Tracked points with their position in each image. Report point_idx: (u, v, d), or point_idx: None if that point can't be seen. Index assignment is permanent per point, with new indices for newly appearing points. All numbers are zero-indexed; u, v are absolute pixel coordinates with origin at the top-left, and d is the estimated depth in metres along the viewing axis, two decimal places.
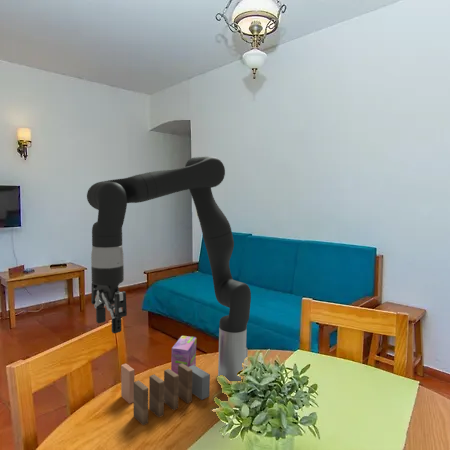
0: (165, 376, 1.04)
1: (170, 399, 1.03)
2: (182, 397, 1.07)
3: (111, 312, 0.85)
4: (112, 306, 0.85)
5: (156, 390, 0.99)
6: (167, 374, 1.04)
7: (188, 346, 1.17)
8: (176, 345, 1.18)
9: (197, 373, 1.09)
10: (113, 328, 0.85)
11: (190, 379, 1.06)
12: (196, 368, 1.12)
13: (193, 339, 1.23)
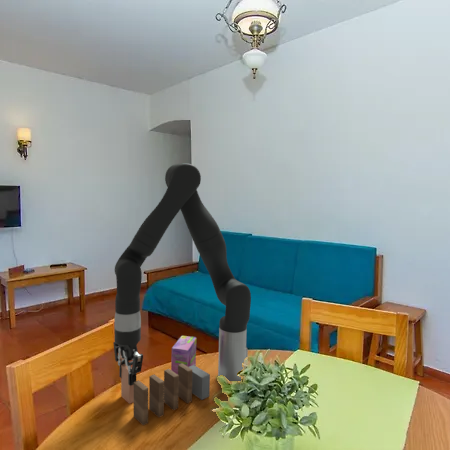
0: (165, 376, 1.04)
1: (170, 399, 1.03)
2: (182, 397, 1.07)
3: (128, 368, 1.03)
4: (130, 363, 1.03)
5: (156, 390, 0.99)
6: (167, 374, 1.04)
7: (188, 346, 1.17)
8: (176, 344, 1.18)
9: (197, 373, 1.09)
10: (129, 381, 1.04)
11: (190, 379, 1.06)
12: (196, 368, 1.12)
13: (193, 339, 1.23)
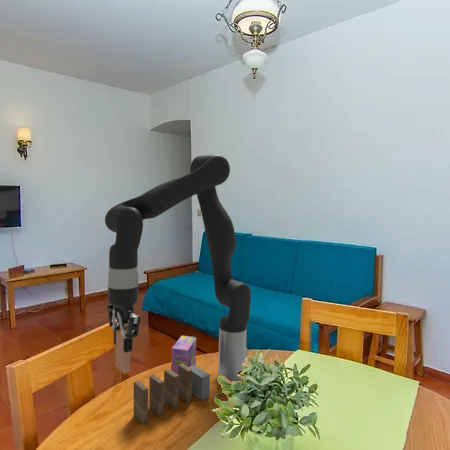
0: (165, 376, 1.04)
1: (170, 399, 1.03)
2: (182, 397, 1.07)
3: (124, 332, 0.90)
4: (125, 327, 0.90)
5: (156, 390, 0.99)
6: (167, 374, 1.04)
7: (188, 346, 1.17)
8: (176, 344, 1.18)
9: (197, 373, 1.09)
10: (125, 347, 0.90)
11: (190, 379, 1.06)
12: (196, 368, 1.12)
13: (193, 339, 1.23)
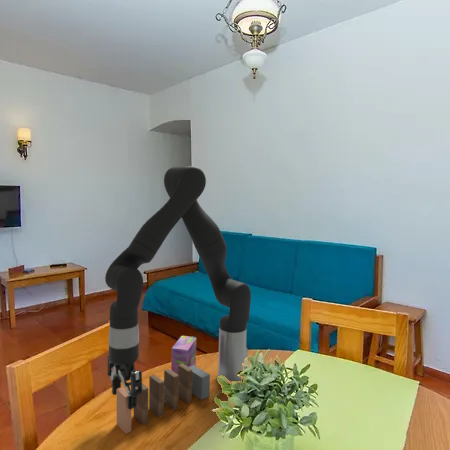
0: (165, 376, 1.05)
1: (170, 399, 1.03)
2: (182, 397, 1.07)
3: (127, 389, 0.89)
4: (128, 383, 0.90)
5: (156, 390, 0.99)
6: (167, 374, 1.04)
7: (188, 346, 1.17)
8: (176, 344, 1.18)
9: (197, 373, 1.09)
10: (129, 404, 0.90)
11: (190, 379, 1.06)
12: (196, 368, 1.12)
13: (193, 339, 1.23)
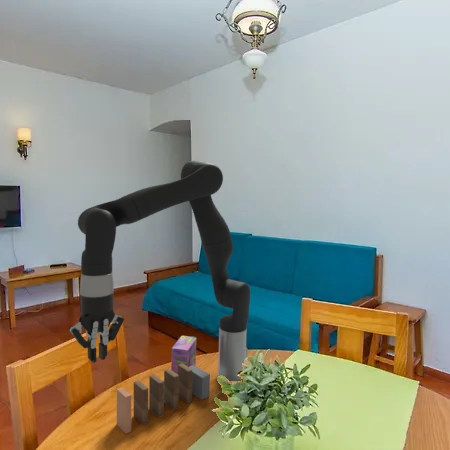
0: (165, 376, 1.05)
1: (170, 399, 1.03)
2: (182, 397, 1.07)
3: None
4: (87, 335, 0.86)
5: (156, 390, 0.99)
6: (167, 374, 1.04)
7: (188, 346, 1.17)
8: (176, 345, 1.18)
9: (197, 373, 1.09)
10: None
11: (190, 379, 1.06)
12: (196, 368, 1.12)
13: (193, 339, 1.23)
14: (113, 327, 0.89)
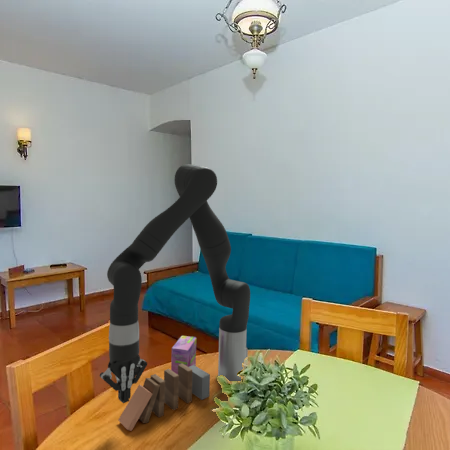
0: (165, 376, 1.05)
1: (170, 399, 1.03)
2: (182, 397, 1.07)
3: None
4: (117, 378, 0.93)
5: None
6: (167, 374, 1.04)
7: (188, 346, 1.17)
8: (176, 345, 1.18)
9: (197, 373, 1.09)
10: None
11: (190, 379, 1.06)
12: (196, 368, 1.12)
13: (193, 339, 1.23)
14: (137, 370, 0.95)
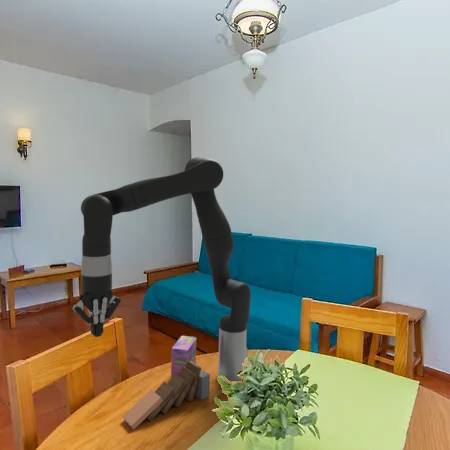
0: (181, 371, 1.09)
1: None
2: None
3: None
4: (89, 312, 0.93)
5: (177, 386, 1.04)
6: (185, 370, 1.08)
7: (188, 346, 1.17)
8: (176, 345, 1.18)
9: None
10: None
11: (197, 376, 1.07)
12: None
13: (193, 339, 1.23)
14: (110, 306, 0.96)
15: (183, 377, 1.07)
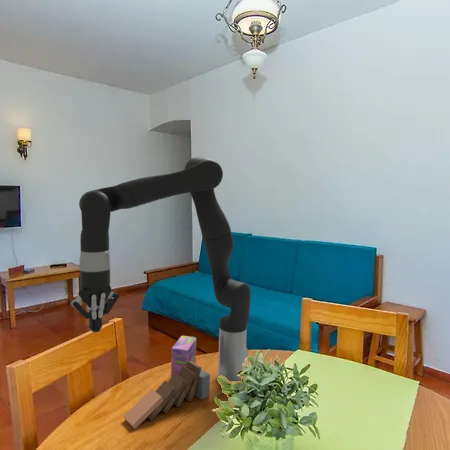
0: (181, 371, 1.09)
1: None
2: None
3: None
4: (88, 307, 0.94)
5: (177, 385, 1.04)
6: (185, 369, 1.08)
7: (188, 346, 1.17)
8: (176, 345, 1.18)
9: None
10: None
11: (197, 376, 1.07)
12: None
13: (193, 339, 1.23)
14: (108, 302, 0.96)
15: (183, 377, 1.07)
